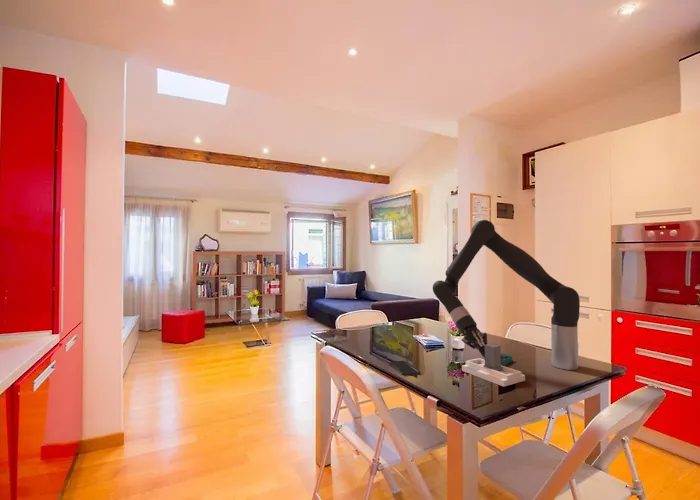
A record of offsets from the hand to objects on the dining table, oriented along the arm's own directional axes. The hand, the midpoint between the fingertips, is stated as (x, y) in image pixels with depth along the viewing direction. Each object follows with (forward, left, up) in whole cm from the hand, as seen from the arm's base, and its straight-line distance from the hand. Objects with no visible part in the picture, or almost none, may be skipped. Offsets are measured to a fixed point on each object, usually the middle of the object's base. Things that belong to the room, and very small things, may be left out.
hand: (487, 356), depth 133 cm
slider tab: (0, +3, -4) cm, 5 cm away
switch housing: (0, +2, -7) cm, 7 cm away
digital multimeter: (-15, -7, -7) cm, 18 cm away
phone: (+25, -20, -7) cm, 33 cm away
